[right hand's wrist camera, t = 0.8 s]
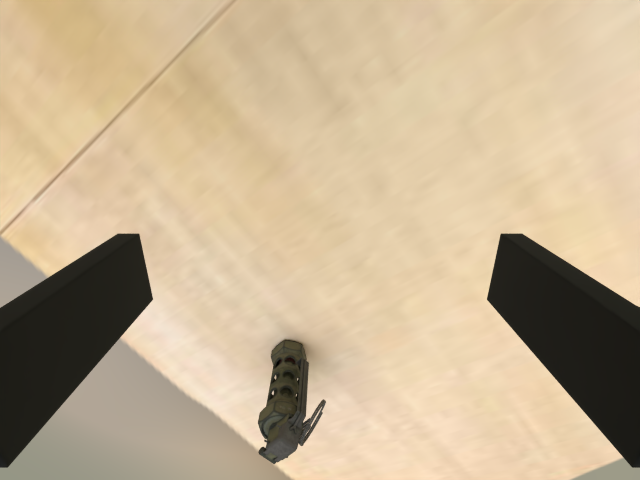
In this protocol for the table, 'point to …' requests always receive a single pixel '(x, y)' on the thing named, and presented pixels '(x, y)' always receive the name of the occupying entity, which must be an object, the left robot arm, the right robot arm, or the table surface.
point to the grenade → (286, 403)
